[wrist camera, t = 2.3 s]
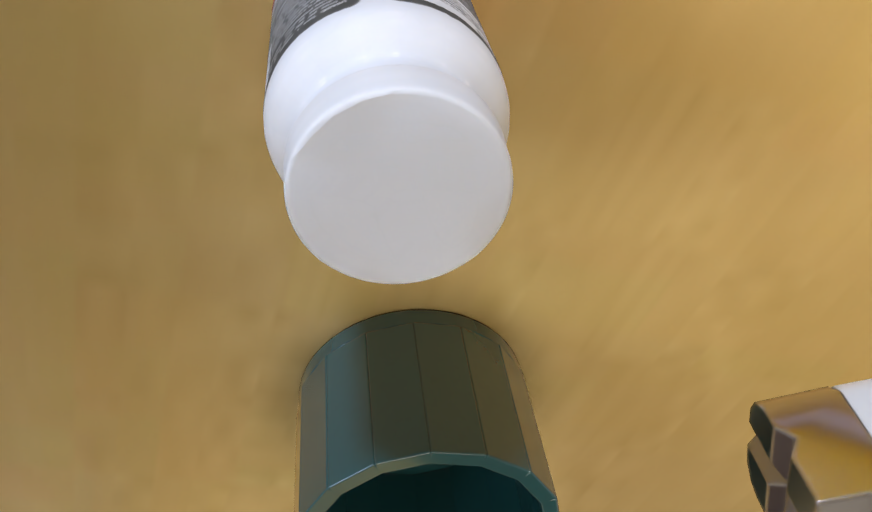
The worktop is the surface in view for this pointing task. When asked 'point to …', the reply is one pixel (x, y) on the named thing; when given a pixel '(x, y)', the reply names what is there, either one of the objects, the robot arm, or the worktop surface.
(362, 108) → the pill bottle
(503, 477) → the holder
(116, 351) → the worktop surface
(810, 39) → the worktop surface
